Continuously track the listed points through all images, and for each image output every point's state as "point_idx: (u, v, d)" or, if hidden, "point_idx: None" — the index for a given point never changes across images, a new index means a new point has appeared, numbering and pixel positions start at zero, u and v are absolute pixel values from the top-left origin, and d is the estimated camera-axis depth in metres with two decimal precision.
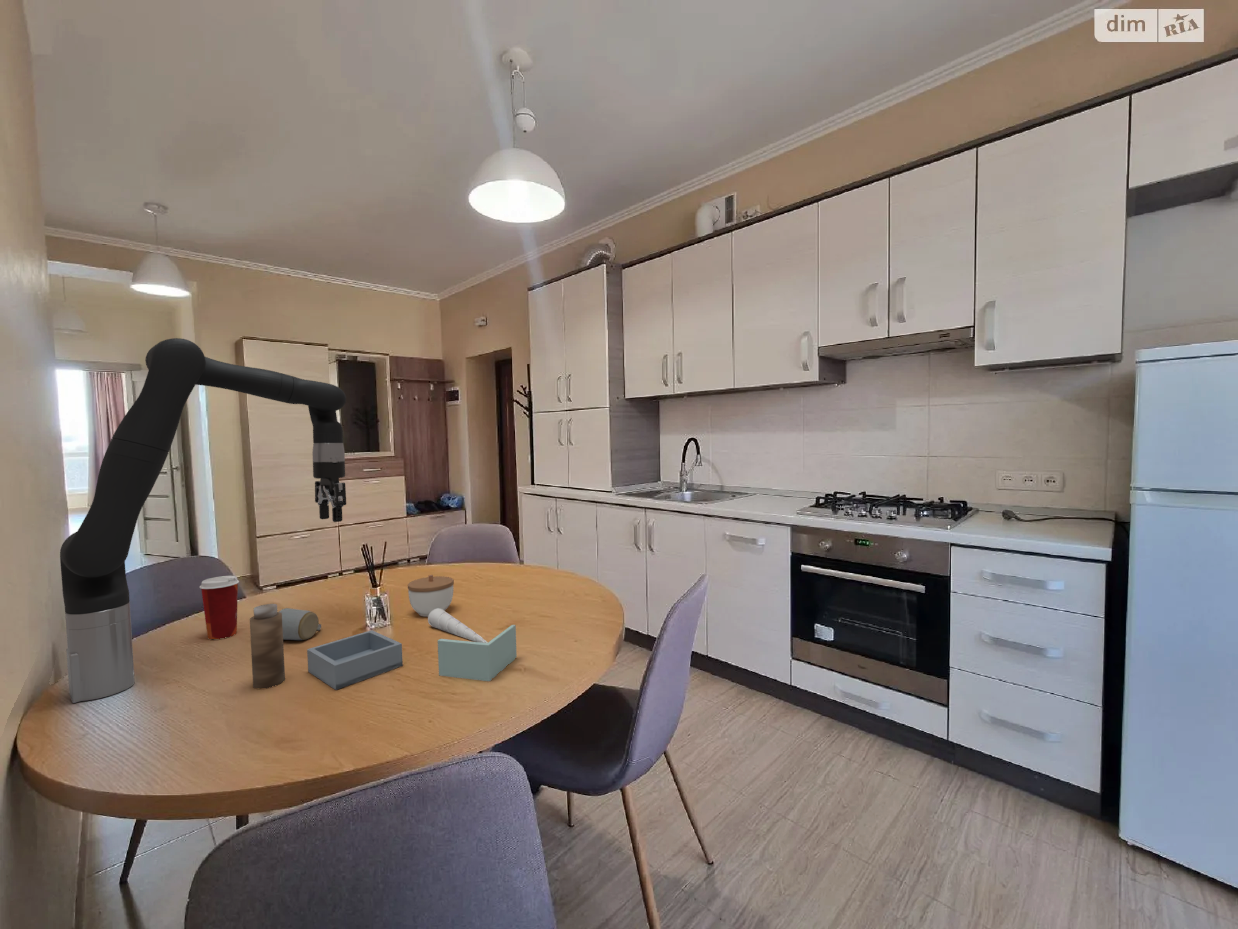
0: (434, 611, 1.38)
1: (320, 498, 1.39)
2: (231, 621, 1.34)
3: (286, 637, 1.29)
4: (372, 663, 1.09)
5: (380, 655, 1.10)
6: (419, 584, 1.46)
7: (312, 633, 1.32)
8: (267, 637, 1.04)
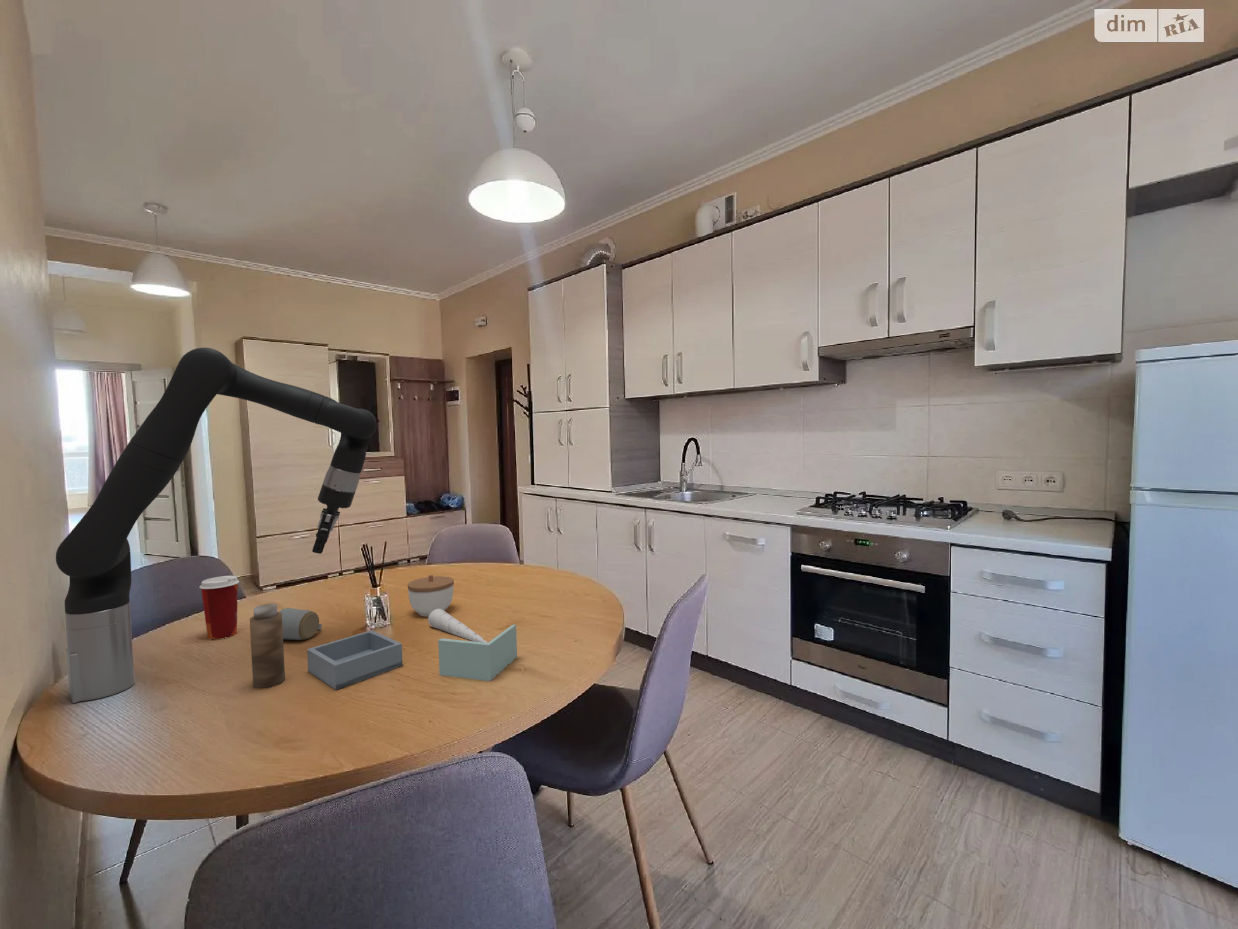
0: (434, 611, 1.38)
1: None
2: (231, 621, 1.34)
3: (286, 637, 1.29)
4: (372, 663, 1.09)
5: (380, 655, 1.10)
6: (419, 584, 1.46)
7: (313, 633, 1.32)
8: (268, 637, 1.04)
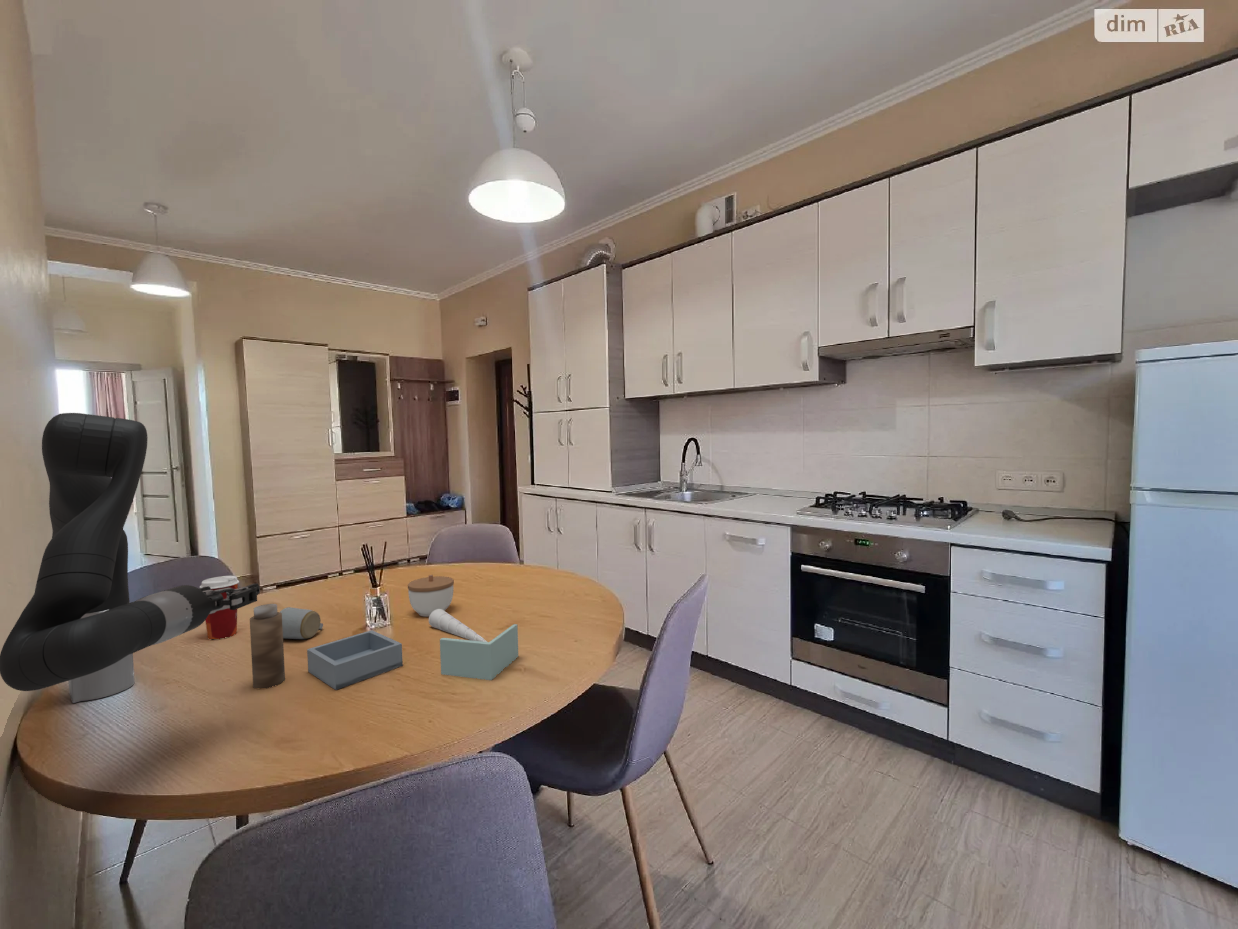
0: (435, 612, 1.38)
1: None
2: (231, 621, 1.34)
3: (288, 636, 1.30)
4: (372, 663, 1.09)
5: (380, 655, 1.10)
6: (419, 584, 1.46)
7: (314, 632, 1.32)
8: (267, 637, 1.04)
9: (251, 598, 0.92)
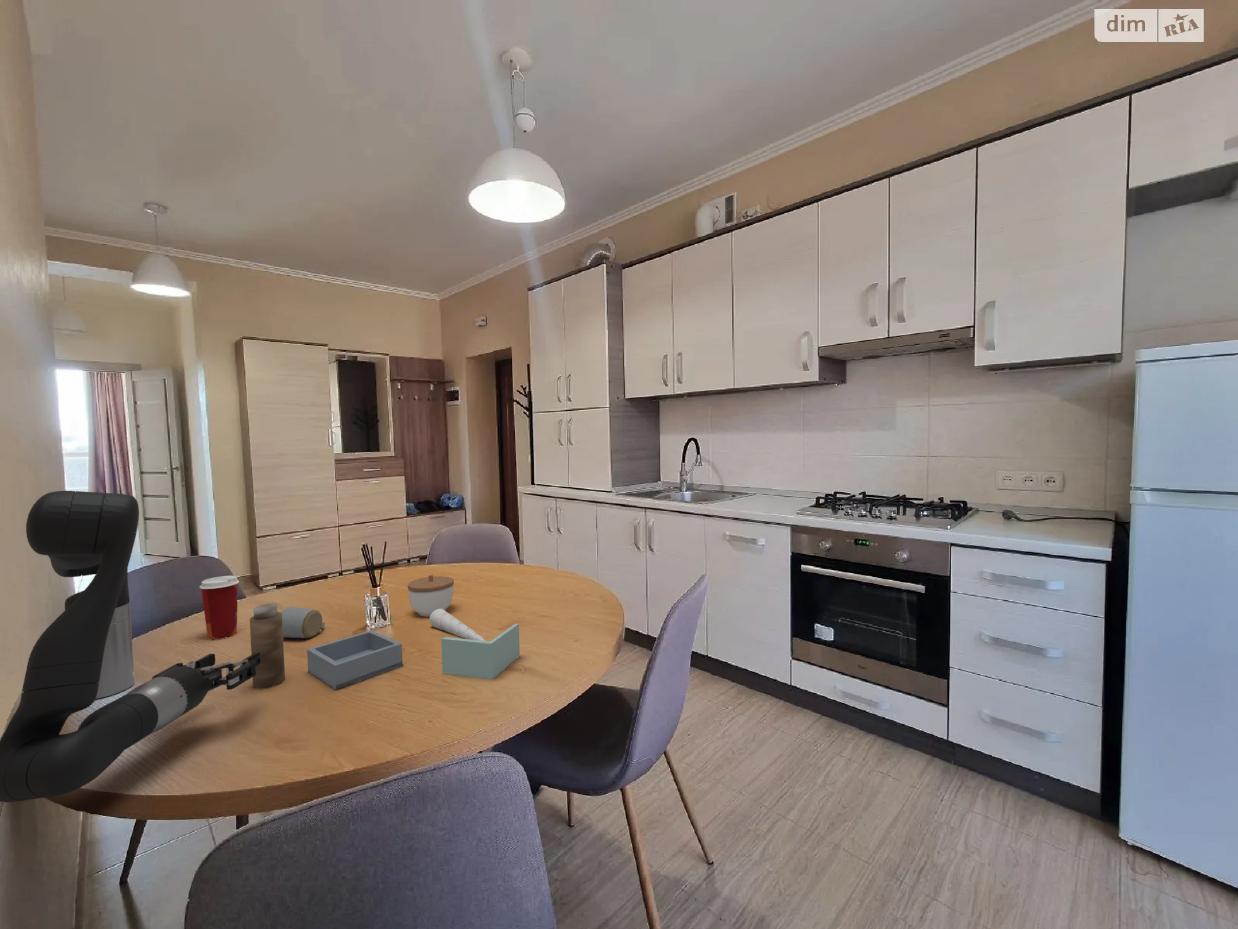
0: (436, 611, 1.38)
1: None
2: (231, 621, 1.34)
3: (290, 635, 1.30)
4: (372, 663, 1.09)
5: (380, 655, 1.10)
6: (419, 584, 1.46)
7: (316, 631, 1.33)
8: (268, 637, 1.04)
9: (250, 673, 0.92)
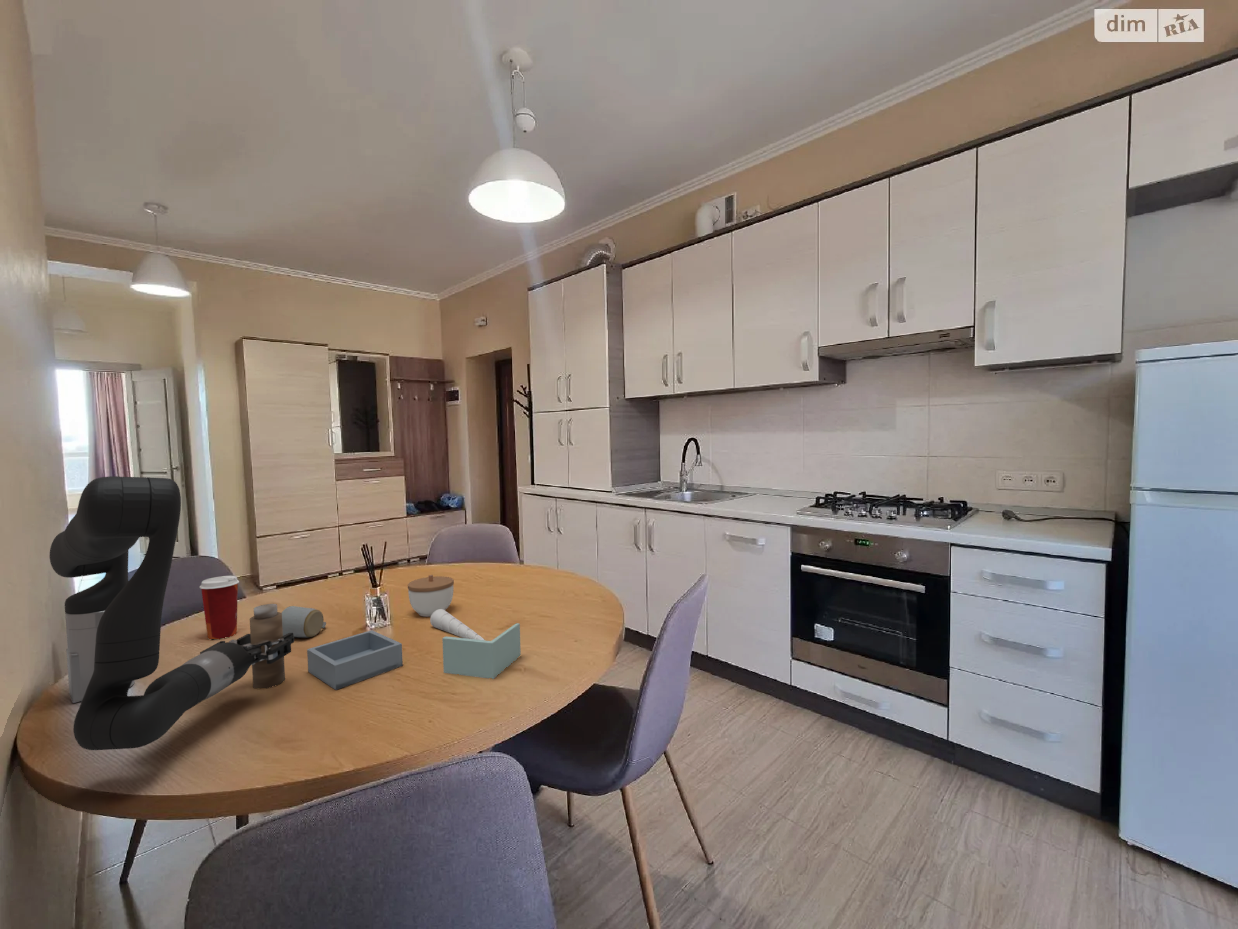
0: (436, 612, 1.38)
1: None
2: (231, 621, 1.34)
3: None
4: (372, 663, 1.09)
5: (380, 655, 1.10)
6: (419, 584, 1.46)
7: (317, 630, 1.34)
8: (268, 637, 1.04)
9: (286, 650, 1.02)
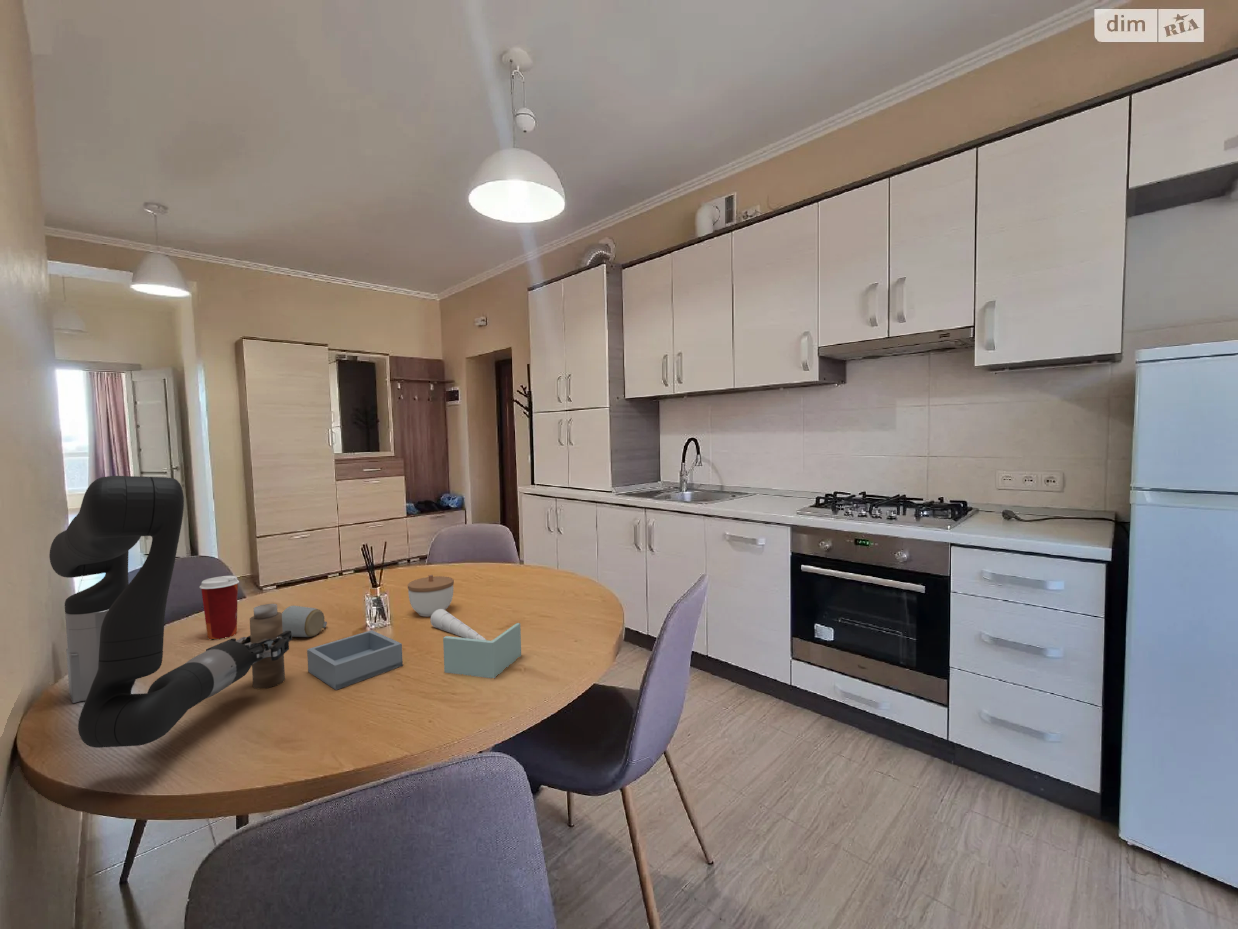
0: (436, 612, 1.38)
1: None
2: (231, 621, 1.34)
3: (292, 634, 1.31)
4: (372, 663, 1.09)
5: (380, 655, 1.10)
6: (419, 584, 1.46)
7: (318, 630, 1.34)
8: (267, 637, 1.04)
9: (284, 647, 1.04)
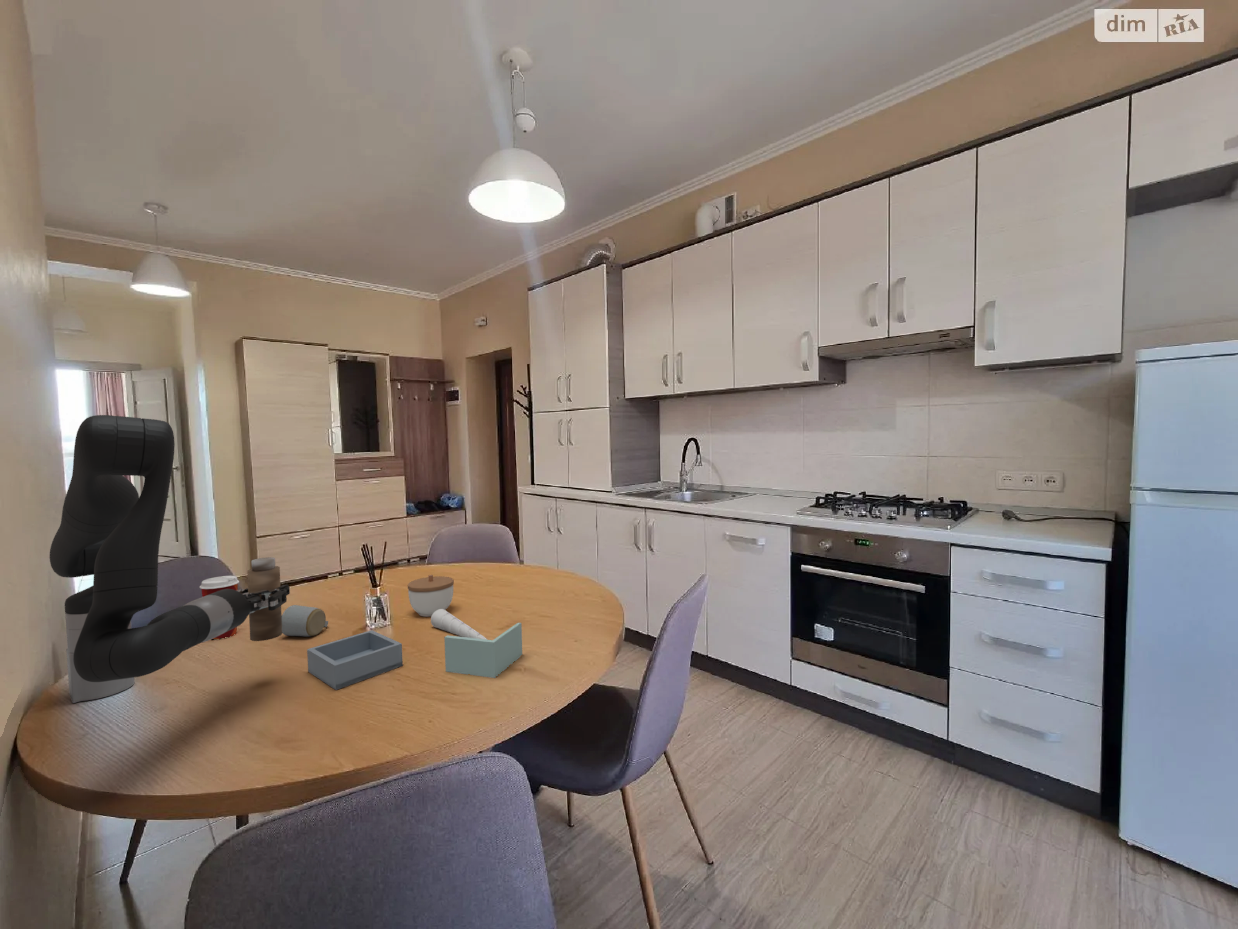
0: (437, 612, 1.37)
1: None
2: None
3: (294, 633, 1.31)
4: (372, 663, 1.09)
5: (380, 655, 1.10)
6: (419, 584, 1.46)
7: (319, 629, 1.34)
8: (265, 589, 1.04)
9: (282, 599, 1.03)
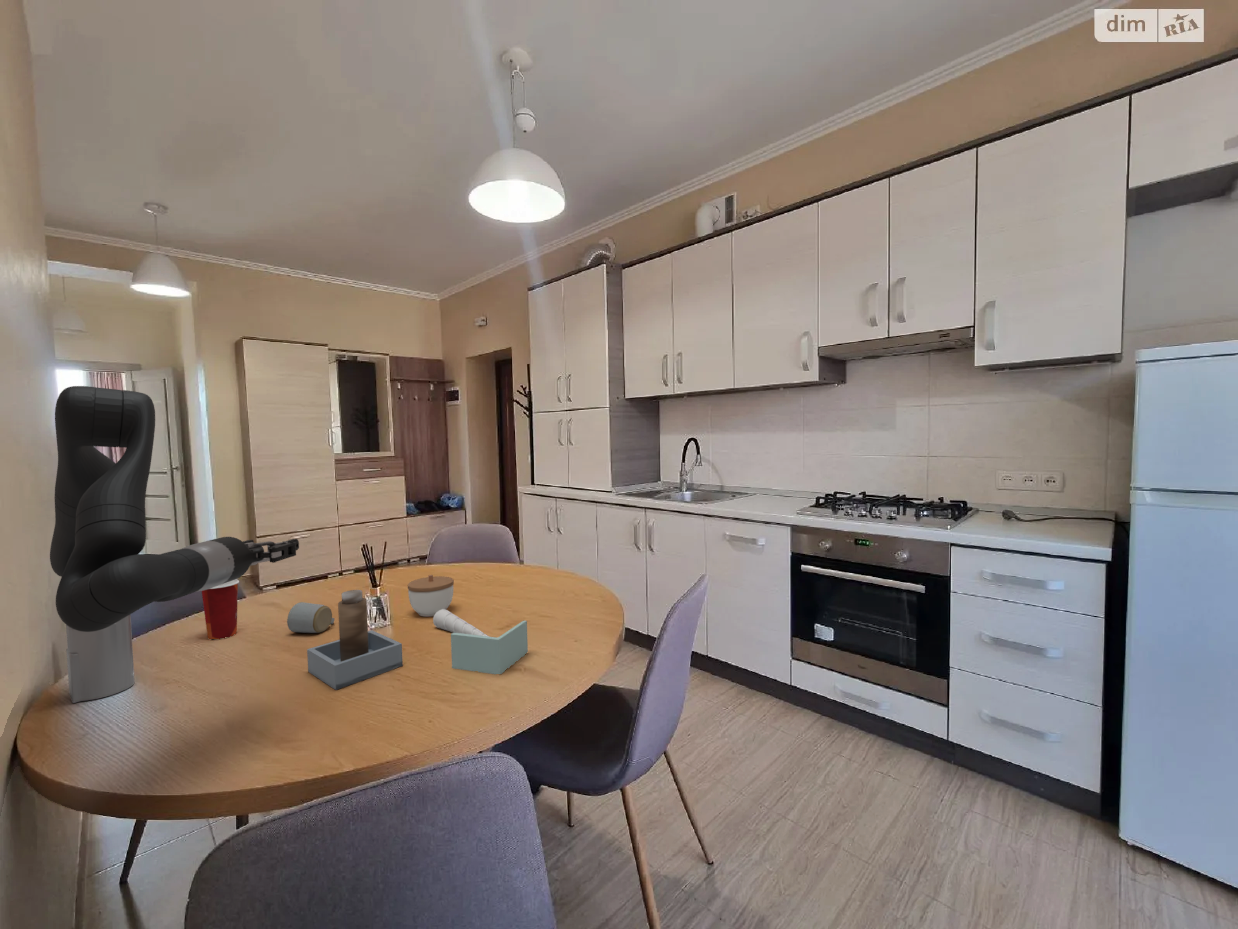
0: (439, 612, 1.37)
1: None
2: (231, 621, 1.34)
3: (301, 630, 1.34)
4: (372, 663, 1.09)
5: (380, 655, 1.10)
6: (419, 584, 1.46)
7: (326, 626, 1.37)
8: (355, 621, 1.10)
9: (290, 552, 0.94)
